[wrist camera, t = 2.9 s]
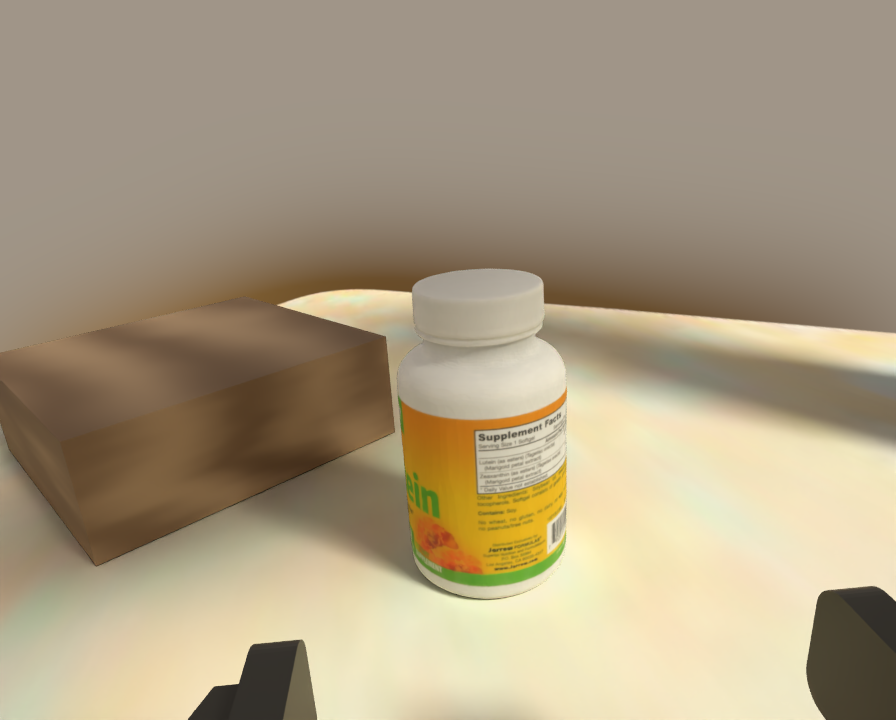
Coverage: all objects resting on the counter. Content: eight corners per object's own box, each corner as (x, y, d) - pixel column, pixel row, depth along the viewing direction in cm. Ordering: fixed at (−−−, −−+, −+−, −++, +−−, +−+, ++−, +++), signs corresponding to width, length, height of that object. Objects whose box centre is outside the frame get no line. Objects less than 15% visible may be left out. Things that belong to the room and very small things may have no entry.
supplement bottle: (395, 528, 24) (369, 276, 21) (524, 496, 26) (519, 257, 23) (441, 624, 20) (416, 316, 16) (596, 577, 21) (602, 287, 18)
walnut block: (257, 371, 42) (244, 296, 40) (394, 431, 32) (385, 336, 30) (9, 449, 33) (-21, 357, 31) (96, 566, 23) (60, 441, 22)
